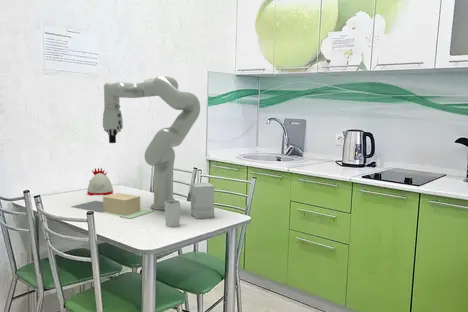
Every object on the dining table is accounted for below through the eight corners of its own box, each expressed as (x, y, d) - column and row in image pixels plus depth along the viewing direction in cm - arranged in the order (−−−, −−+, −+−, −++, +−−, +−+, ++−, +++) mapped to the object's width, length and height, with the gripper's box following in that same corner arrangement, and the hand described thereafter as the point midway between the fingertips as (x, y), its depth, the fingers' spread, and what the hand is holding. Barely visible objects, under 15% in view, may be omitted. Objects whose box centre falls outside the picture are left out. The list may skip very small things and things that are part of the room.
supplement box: (208, 212, 196) (209, 182, 195) (214, 217, 188) (214, 185, 186) (190, 214, 193) (190, 183, 191) (195, 219, 185) (195, 186, 183)
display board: (153, 211, 196) (153, 210, 196) (130, 219, 182) (130, 218, 182) (95, 201, 215) (95, 200, 215) (70, 207, 201) (70, 206, 201)
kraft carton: (140, 210, 196) (140, 196, 195) (125, 215, 187) (125, 200, 186) (118, 206, 202) (118, 193, 202) (103, 211, 194) (103, 196, 193)
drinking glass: (161, 224, 174) (161, 202, 173) (171, 221, 180) (171, 199, 179) (172, 227, 171) (173, 204, 170) (183, 224, 176) (183, 201, 175)
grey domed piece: (89, 191, 240) (89, 166, 239) (114, 190, 243) (113, 165, 241) (85, 196, 227) (85, 169, 225) (111, 195, 229) (111, 169, 228)
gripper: (128, 107, 209) (128, 143, 212) (106, 107, 216) (107, 141, 218) (117, 107, 203) (118, 144, 205) (95, 107, 210) (96, 142, 212)
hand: (112, 142), depth 212 cm, fingers closed
